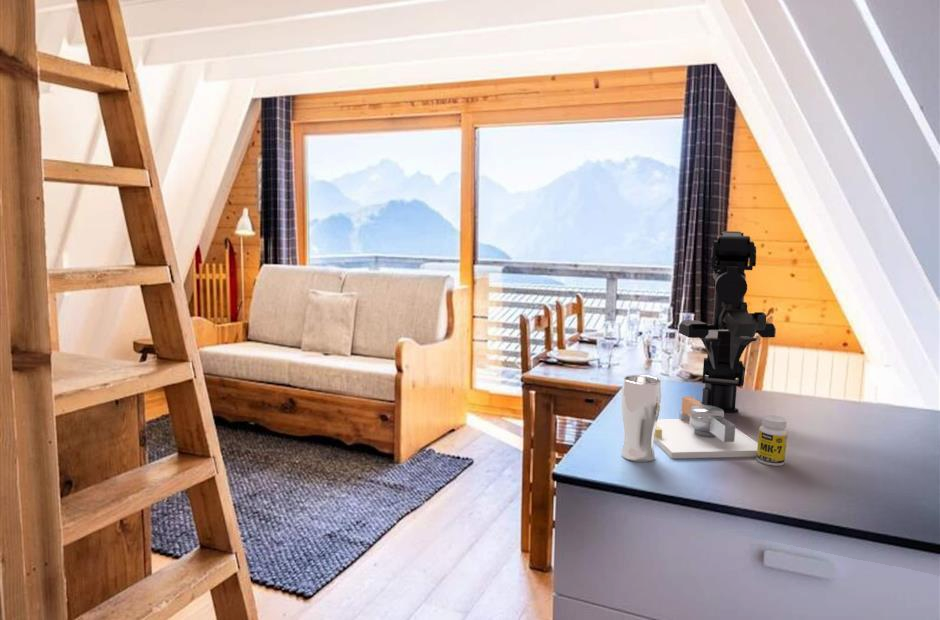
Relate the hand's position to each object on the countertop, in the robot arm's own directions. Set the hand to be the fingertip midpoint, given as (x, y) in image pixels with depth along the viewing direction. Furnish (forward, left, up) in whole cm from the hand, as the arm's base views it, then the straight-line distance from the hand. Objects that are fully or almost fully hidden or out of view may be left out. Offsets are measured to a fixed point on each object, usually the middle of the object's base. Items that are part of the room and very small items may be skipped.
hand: (723, 368), depth 136 cm
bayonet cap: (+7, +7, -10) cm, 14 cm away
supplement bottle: (-1, +19, -13) cm, 23 cm away
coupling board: (+8, +7, -13) cm, 17 cm away
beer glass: (+23, +15, -13) cm, 31 cm away
